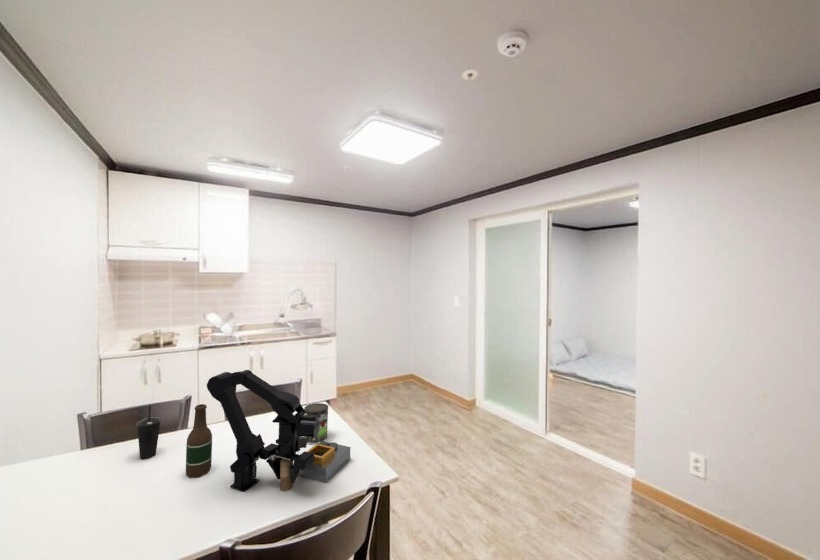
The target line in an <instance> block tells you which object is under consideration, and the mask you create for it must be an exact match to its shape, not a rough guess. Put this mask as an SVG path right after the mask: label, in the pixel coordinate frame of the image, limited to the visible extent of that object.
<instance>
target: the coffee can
mask: <svg viewBox="0 0 820 560" xmlns="http://www.w3.org/2000/svg"><path fill="white" fill-rule="evenodd" d="M303 409H304V410H305V412H306V413H305V414H304V415H318V419H319V423H320V429H319V433H318V435H317V437H306V438H308V441H307V443H308V444H307V445H312V444H314V445H316V444H317V443H320V442H322V441H325V440H326V439H327V440H328V420H329V416H328V415H329V405H328V404H327V403H321V402H319V403H318V402H317V403H316V402H315V403H310V404H308V405H305V406H304V407H303ZM327 440H326V441H327ZM326 441H325V442H326Z"/></svg>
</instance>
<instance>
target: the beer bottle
mask: <svg viewBox="0 0 820 560" xmlns="http://www.w3.org/2000/svg"><path fill="white" fill-rule="evenodd" d="M207 408H208V407H207V404H204V403H201V404H197V405H195V406H194V418H193V419H194V421H193V426H192V429H191V431H190V433H189V434H188V436H187V438H186V449H185V452H186V453H185V475H186V476H187V477H188V478H189V479H192V478H193V479H194V478H201V477H202V476H205V475H206V474H207V475H208V473H209V472H210V470H211V469H212V460H213V459H212V458H213V457H212V456H213V434H212V431H211V428H209V427H208V425H207Z"/></svg>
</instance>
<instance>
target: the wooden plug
mask: <svg viewBox="0 0 820 560" xmlns="http://www.w3.org/2000/svg"><path fill="white" fill-rule="evenodd" d="M293 463H294V461H293V460H287V459H282V460H281V464H280V479H279V490H280V491H282V492H287V491H290V490H291V489H292V488H293V484H292V482H291V477H290V471H289V467H290V466H292V465H293Z"/></svg>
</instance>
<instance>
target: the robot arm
mask: <svg viewBox="0 0 820 560" xmlns="http://www.w3.org/2000/svg"><path fill="white" fill-rule="evenodd" d="M238 385H241V386H242V387H244V388H246V390H247V389H248V391H250V392H252V393H253V394H255V395H257V396H258V397H259V398H261V399H262V400H264V401H265V402H267V403H268V405H270V407H271V408H272V409H271V410H272V411H273V412H274V413H275V414H277V415H276V417H275V418H273V420H272V423H276V424H278V438H277V439H275V443H270V444H268V445H266V443H265V442H264V441H263V438H262V435H261V433H259V434H257V435H256V434H254V433H253V432H252V430H251V428H250V425H249V422H248V421H247V418H246V416H245V414H244V411H243V409H242V406H241V404H240V401H239V399H238V397H237V386H238ZM206 388H207V391H208V392H209V393H210V395H211V397H212V398H214V399H215V400H216V401H218V402H219V403H220V405H221V407H222V410H223V412H224V414H225V417H226V419H227V423H229V426H230V429H231V430H232V433H233V436H234V439H235V440H236V441H235V442H236V449H235V453H236V457H237V459H236V460H235V461H234V462H233V463H232V464H231V465H230V466H229V469H230V472H231V473H232V474H233V473H234V475H233V483H231V484H230V488H232V489H235V490H237V491H242V492H246V491H248V489H250V488H252V487H253V486H255V485H256V484H257V483H259V482H260V478H257V468H258V466H257V462H258V461H259V460H260V459H261V460H263V461H265V462H266V463H267V464H268V465H269V467H270V468H271V470H272V472H273V473H274V475H275V477H276V479H277V481H280V464H281V460H282V459H287V460H293V465H292V466H290V467H289V471H290V477H291V482H292V484H295V483H296V481H297V477H298V476H299V475H298V473H299V470H300V469H301V470H304V469H306V468H307V467H308V466H309V465H311V464H312V463H313V462H314V461H315V456H314V454H313V453H309V452H307V451H303V452H302V453H299V454H298V453H297V452H300V451H301V449H302V448H303V449H306V448H307V445H308V444H307V441H308V438H306V437H317V435H318V433H319V429H320V423H319V419H318V415H304V414H305V413H306V412H305V410H304V407H303V406H302V404H301V402H300V397H298V396H297V395H296V394H294V393H293V394H292V393H290V392H287V391H283V390H279V389H277V388H276V387H274V386H273V385H271V384H270V383H269V382H266V381H265V380H263V379H262V378H260V377H259V376H257V375H256V374H254V373H253V372H252V370H250V369H245V370H241V371H234V372H229V371H224V372H221V373H220V374H217V375H214V376H212V377H211V378H209V379H208V380H207V383H206ZM295 412H296V413H295ZM294 413H295V414H294ZM265 445H266V446H265Z"/></svg>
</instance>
